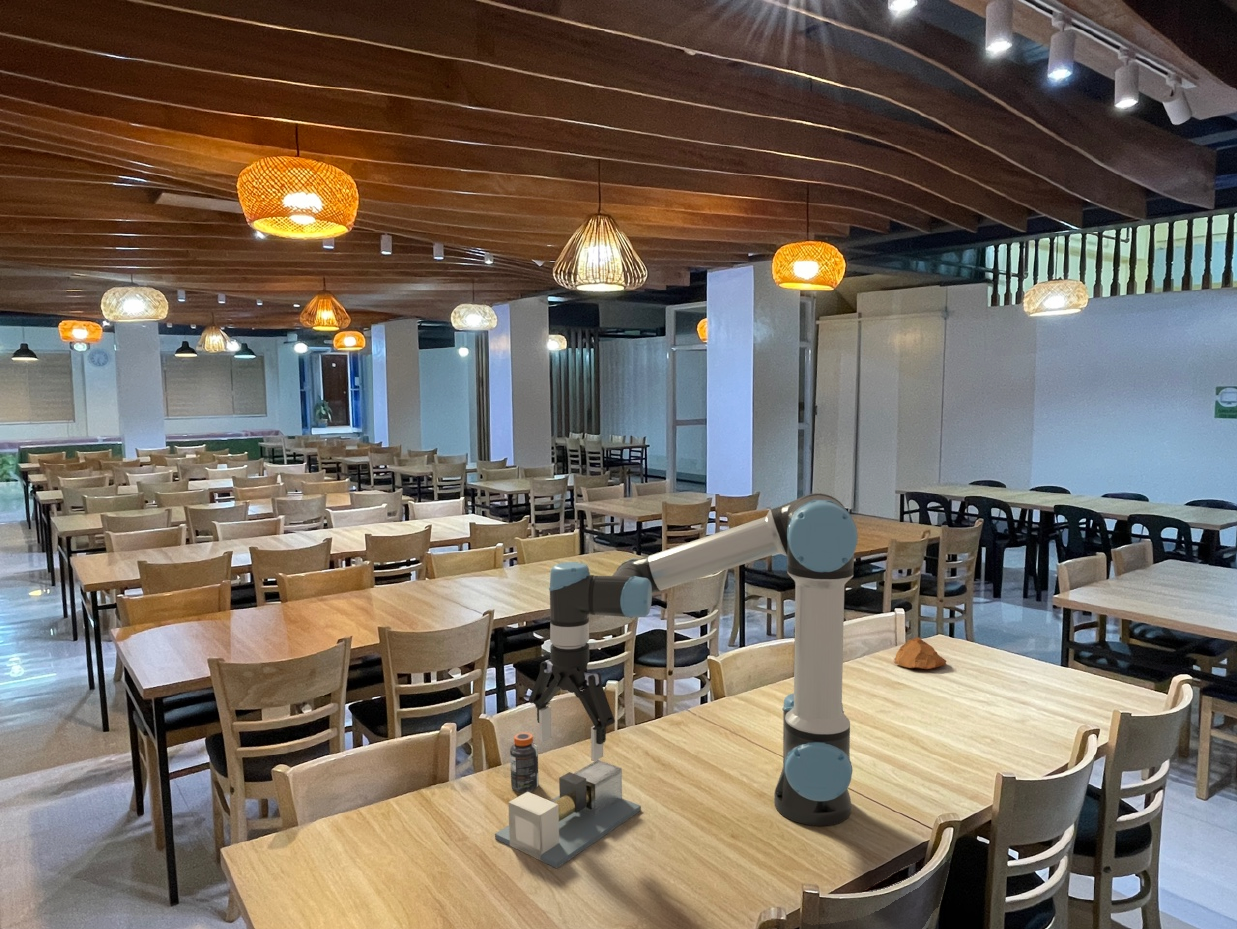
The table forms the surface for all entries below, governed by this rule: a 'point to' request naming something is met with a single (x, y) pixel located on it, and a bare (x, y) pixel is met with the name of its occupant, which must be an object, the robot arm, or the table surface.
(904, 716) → the table surface
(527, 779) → the pill bottle
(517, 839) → the socket
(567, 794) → the brass rod with grip
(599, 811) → the sleeve
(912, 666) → the stone
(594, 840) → the board
